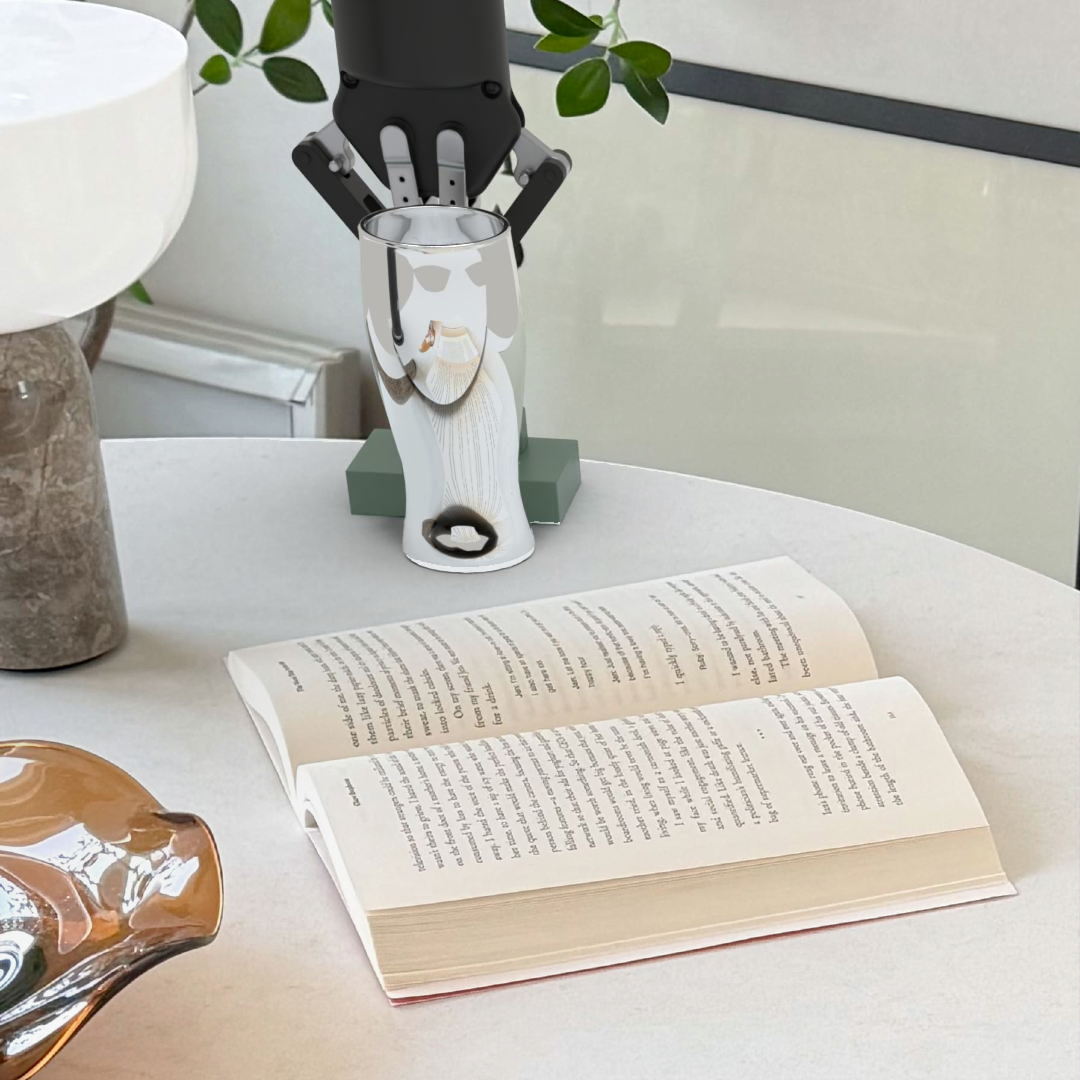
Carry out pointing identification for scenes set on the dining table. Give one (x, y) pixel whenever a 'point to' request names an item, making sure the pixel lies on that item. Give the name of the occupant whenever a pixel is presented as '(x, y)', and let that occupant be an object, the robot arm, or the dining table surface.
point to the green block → (542, 470)
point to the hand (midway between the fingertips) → (452, 349)
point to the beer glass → (450, 376)
